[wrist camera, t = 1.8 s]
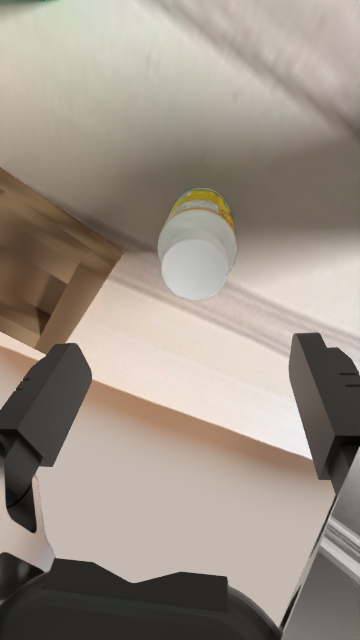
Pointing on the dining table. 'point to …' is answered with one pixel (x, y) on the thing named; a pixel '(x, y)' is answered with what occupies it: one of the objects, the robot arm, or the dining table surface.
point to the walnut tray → (46, 267)
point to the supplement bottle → (197, 244)
